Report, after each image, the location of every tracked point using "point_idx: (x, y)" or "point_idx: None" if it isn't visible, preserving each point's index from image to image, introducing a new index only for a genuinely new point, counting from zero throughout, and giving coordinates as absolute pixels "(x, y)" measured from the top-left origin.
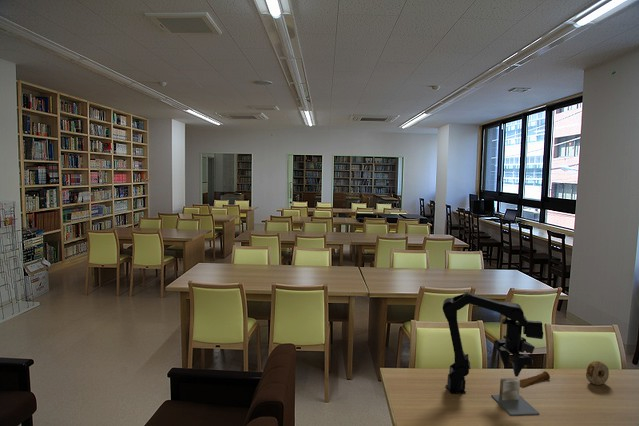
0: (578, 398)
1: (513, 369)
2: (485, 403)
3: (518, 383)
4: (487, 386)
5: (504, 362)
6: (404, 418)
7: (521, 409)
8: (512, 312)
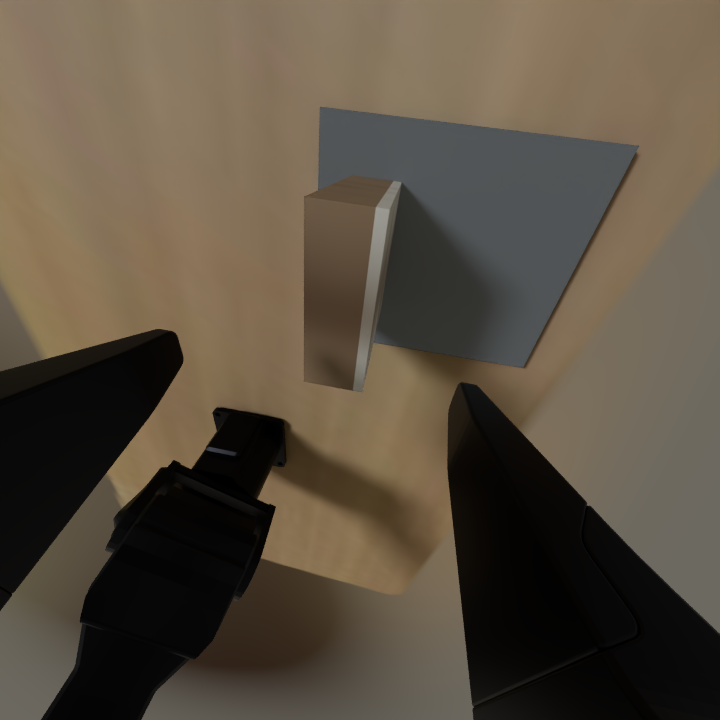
0: None
1: (465, 557)
2: (378, 397)
3: (389, 225)
4: (203, 276)
5: (122, 427)
6: (396, 588)
7: (517, 265)
8: None
